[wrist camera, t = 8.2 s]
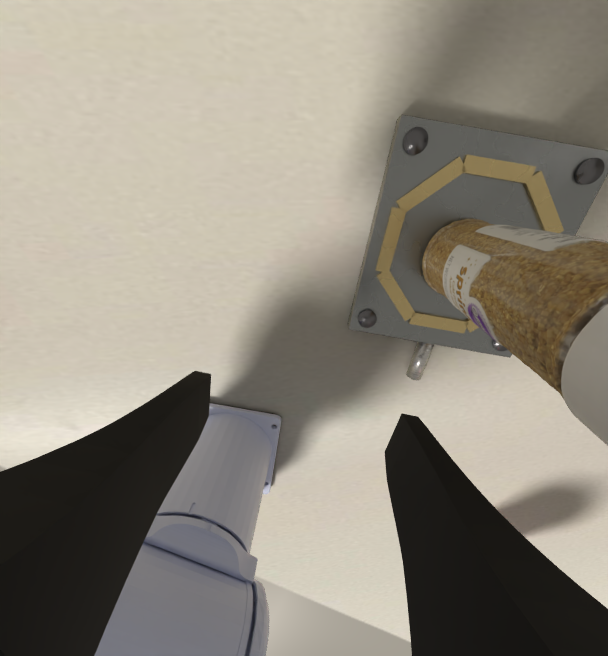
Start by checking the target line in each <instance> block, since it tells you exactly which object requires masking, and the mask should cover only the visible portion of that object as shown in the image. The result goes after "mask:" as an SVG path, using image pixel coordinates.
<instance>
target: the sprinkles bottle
mask: <svg viewBox="0 0 608 656" xmlns="http://www.w3.org/2000/svg"><path fill="white" fill-rule="evenodd" d="M422 270H423V275H424V278H425V280H426V282H427V283H428V285H429V286H430V287H431V288H432V289H433V290H434V291H436V292H438V293H440V294H442V295H444V296H445V297H446V298H447V299H448V300H449V301H450V302H451V303H452V304H453V306H454V307H456V308H457V309H458V310H459V311H460V312H462V313H463V314H464V315H465V316H466V317H467V318H469V319H470V320H471V321H472V322H473V323H475V324H476V325H477V326H478V327H479V328H480V329H482V330H483V331H484V332H485V333H486V334H488V335H489V336H490V337H491V338H492V339H494V340H495V341H496V342H497V343H498V344H500V345H502V346H504V347H506V348H507V349H508V350H509V351H510V352H511V353H512V354H514V355H515V356H516V357H517V358H519V359H520V360H521V361H522V362H523V363H524V364H525V365H527V366H528V367H530V368H531V369H532V370H533V371H534V372H536V373H537V374H538V375H539V376H540V377H541V378H542V379H543V380H545V381H546V382H547V383H548V384H549V385H550V386H552V387H553V388H554V389H556V390H557V391H558V392H559V393H560V394H561V396H562V397H563V399H564V400H565V402H566V404H567V406H568V408H569V409H570V411H571V412H572V413H573V415H574V416H575V417H576V418H578V419H579V420H580V421H581V422H582V423H583V424H584V425H585V426H586V427H587V428H589V429H590V430H591V431H592V432H593V433H594V434H595V435H596V436H597V437H598V438H600V439H601V440H602V441H603V442H604V443H606V444H607V445H608V242H606V241H601V240H595V239H590V238H584V237H578V236H572V235H566V234H560V233H554V232H549V231H543V230H536V229H529V228H523V227H517V226H511V225H494V224H489V223H488V222H486V221H483V220H478V219H464V220H459V221H455V222H453V223H451V224H449V225H447V226H445V227H443V228H441V229H440V230H439V231H438V232H437V233H436V234H435V235H434V236H433V237H432V239H431V240H430V241H429V243H428V246H427V247H426V250H425V252H424V256H423V259H422Z"/></svg>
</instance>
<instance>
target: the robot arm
mask: <svg viewBox="0 0 608 656" xmlns="http://www.w3.org/2000/svg"><path fill="white" fill-rule="evenodd" d="M210 384H211V374H207V373H203V372H198V371H194V372H192V373H191V374H189V375H188V376H186V377H185V378H183V379H182V380H180V381H179V382H177V383H176V384H174V385H173V386H172V387H170V388H169V389H167V390H166V391H164V392H163V393H161V394H159V395H158V396H156V397H155V398H153V399H152V400H150V401H149V402H147V403H145V404H144V405H142V406H141V407H139V408H137V409H135V410H134V411H132V412H130V413H129V414H127V415H125V416H124V417H122V418H120V419H118V420H117V421H115V422H113V423H111V424H109V425H107V426H105V427H104V428H102V429H100V430H98V431H96V432H94V433H92V434H89V435H87V436H85V437H83V438H81V439H79V440H77V441H75V442H73V443H70V444H68V445H66V446H63V447H61V448H59V449H56V450H54V451H52V452H49V453H47V454H45V455H42V456H40V457H38V458H35V459H33V460H30V461H28V462H25V463H23V464H20V465H17V466H15V467H12V468H10V469H7V470H4V471H1V472H0V656H266V650H267V643H268V635H269V608H268V603H267V600H266V594H265V589H264V587H263V585H262V583H260V582H259V581H257V580H255V579H254V576H255V570H256V565H257V560H258V559H257V558H256V557H254V556H252V555H250V554H249V553H250V549H251V544H252V540H253V535H254V530H255V526H256V521H257V517H258V512H259V507H260V503H261V498H262V494H268V493H269V492H270V488H271V482H272V476H273V469H274V463H275V457H276V451H277V445H278V439H279V433H280V426H281V417H280V416H279V415H275V414H269V413H264V412H258V411H252V410H247V409H241V408H235V407H229V406H224V405H218V404H212V403H210ZM273 424H275V425H277V426H274V425H273ZM385 462H386V475H387V482H388V488H389V493H390V498H391V503H392V508H393V513H394V518H395V523H396V528H397V532H398V537H399V542H400V547H401V553H402V559H403V566H404V575H405V584H406V593H407V603H408V613H409V624H410V635H411V648H412V656H608V609H607V608H606V607H605V606H603V605H602V604H601V603H600V602H599V601H597V600H596V599H595V598H594V597H592V596H591V595H590V594H589V593H587V592H586V591H585V590H584V589H583V588H581V587H580V586H579V585H578V584H577V583H575V582H574V581H573V580H572V579H571V578H570V577H568V576H567V575H566V574H565V573H564V572H562V571H561V570H560V569H559V568H558V567H557V566H556V565H554V564H553V563H552V562H551V561H550V560H549V559H548V558H547V557H546V556H544V555H543V554H542V553H541V552H540V551H539V550H538V549H537V548H536V547H535V546H533V545H532V544H531V543H530V542H529V541H528V540H527V539H526V538H525V537H524V536H523V535H522V534H521V533H520V532H519V531H517V530H516V529H515V528H514V527H513V526H512V525H511V524H510V523H509V522H508V521H507V520H506V519H505V518H504V517H503V516H502V515H501V514H500V513H499V512H498V511H497V510H496V508H495V507H494V506H493V505H492V504H491V503H490V502H489V501H488V500H487V499H486V498H485V497H484V496H483V495H482V493H481V492H480V491H479V490H478V489H477V488H476V487H475V486H474V484H473V483H472V482H471V481H470V480H469V479H468V478H467V476H466V475H465V474H464V473H463V472H462V471H461V469H460V468H459V467H458V466H457V465H456V463H455V462H454V461H453V460H452V459H451V457H450V456H449V455H448V454H447V452H446V451H445V450H444V449H443V447H442V446H441V445H440V444H439V442H438V441H437V440H436V438H435V437H434V436H433V435H432V433H431V432H430V431H429V430H428V428H427V427H426V426H425V425H424V423H423V422H422V421H421V420H420V419H419V417H416V416H411V415H406V414H401V417H400V419H399V421H398V423H397V426H396V428H395V430H394V432H393V435H392V437H391V439H390V441H389V444H388V446H387V448H386V450H385Z"/></svg>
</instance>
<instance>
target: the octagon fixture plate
mask: <svg viewBox="0 0 608 656" xmlns="http://www.w3.org/2000/svg"><path fill="white" fill-rule="evenodd" d="M607 174H608V151H607V150H601V149H595V148H589V147H584V146H578V145H572V144H566V143H561V142H555V141H549V140H544V139H538V138H532V137H526V136H521V135H515V134H509V133H503V132H498V131H492V130H486V129H480V128H475V127H469V126H463V125H457V124H452V123H446V122H440V121H434V120H429V119H423V118H417V117H411V116H406V115H401V116H400V117H399V118H398V119H397V123H396V127H395V131H394V135H393V139H392V143H391V148H390V152H389V156H388V160H387V164H386V168H385V172H384V176H383V181H382V185H381V189H380V193H379V197H378V201H377V205H376V209H375V213H374V218H373V222H372V226H371V230H370V234H369V238H368V242H367V246H366V251H365V255H364V259H363V263H362V267H361V271H360V275H359V279H358V283H357V288H356V292H355V296H354V300H353V304H352V308H351V312H350V316H349V321H348V328H349V329H350V330H356V331H361V332H367V333H373V334H379V335H384V336H390V337H396V338H401V339H407V340H413V341H418V344H417V347H416V349H415V352H414V355H413V357H412V360H411V363H410V366H409V368H408V371H407V376H408V377H409V378H411V379H413V380H420V379H421V376H422V374H423V371H424V369H425V366H426V363H427V361H428V358H429V356H430V353H431V351H432V348H433V346H434V344H436V345H441V346H447V347H453V348H459V349H464V350H470V351H476V352H481V353H487V354H493V355H499V356H504V357H511V355H512V353H511V352H510V351H509V350H508V349H507V348H506V347H504V346H502V345H500V344H498V343H497V342H496V341H495V340H494V339H492V338H491V337H490V336H489V335H488V334H486V333H485V332H484V331H483V330H482V329H480V328H479V327H478V326H477V325H476V324H475V323H473V322H472V321H471V320H470V319H469V318H467V317H466V316H465V315H464V314H463V313H462V312H460V311H459V310H458V309H457V308H456V307H454V306H453V304H452V303H451V302H450V301H449V300H448V299H447V298H446V297H445V296H444V295H442V294H440V293H438V292H436V291H434V290H433V289H432V288H431V287H430V286H429V285H428V283H427V282H426V280H425V278H424V275H423V270H422V259H423V256H424V252H425V250H426V247H427V246H428V243H429V241H430V240H431V239H432V237H433V236H434V235H435V234H436V233H437V232H438V231H439V230H440V229H441V228H443V227H445V226H447V225H449V224H451V223H453V222H455V221H459V220H464V219H478V220H483V221H486V222H488V223H489V224H494V225H511V226H517V227H523V228H529V229H536V230H543V231H549V232H554V233H560V234H566V235H572V236H575V234H576V232H577V231H578V229H579V227H580V225H581V223H582V221H583V219H584V217H585V215H586V214H587V212H588V210H589V208H590V206H591V204H592V202H593V200H594V198H595V197H596V195H597V193H598V191H599V189H600V187H601V185H602V183H603V181H604V180H605V178H606V176H607Z"/></svg>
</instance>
